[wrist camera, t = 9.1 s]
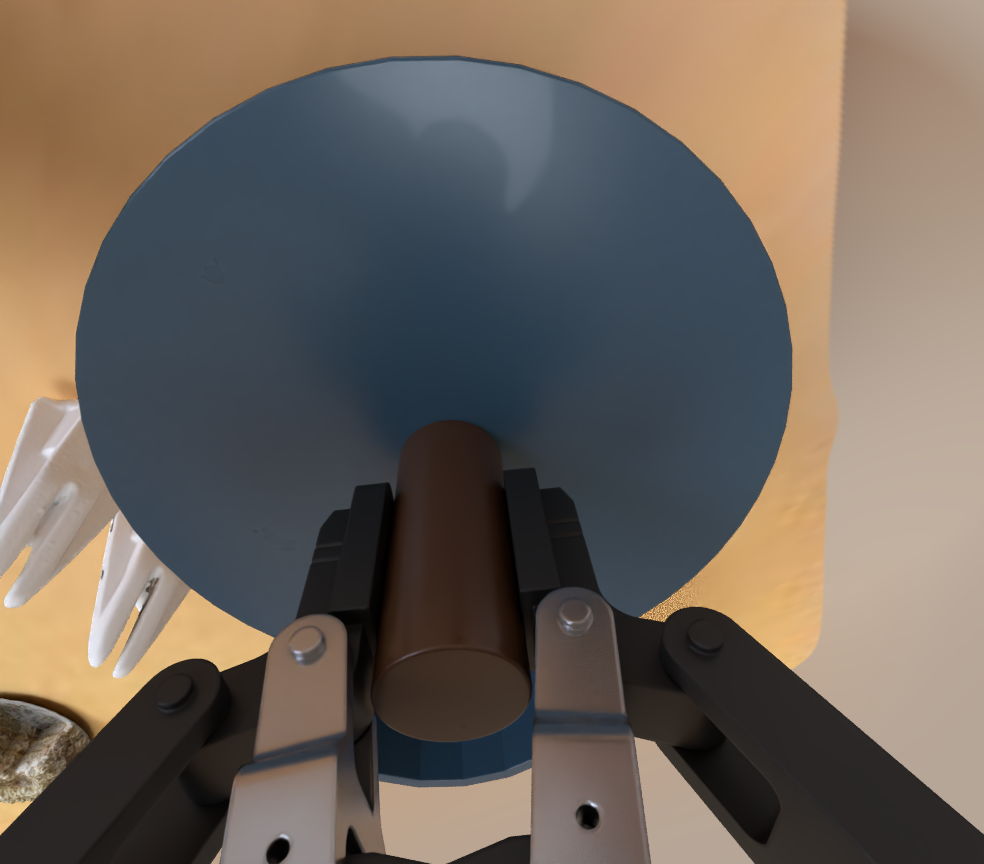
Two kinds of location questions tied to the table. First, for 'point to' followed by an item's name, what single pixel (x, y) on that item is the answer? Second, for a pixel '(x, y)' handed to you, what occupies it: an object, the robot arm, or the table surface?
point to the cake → (34, 749)
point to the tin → (456, 755)
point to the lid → (432, 356)
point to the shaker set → (79, 533)
